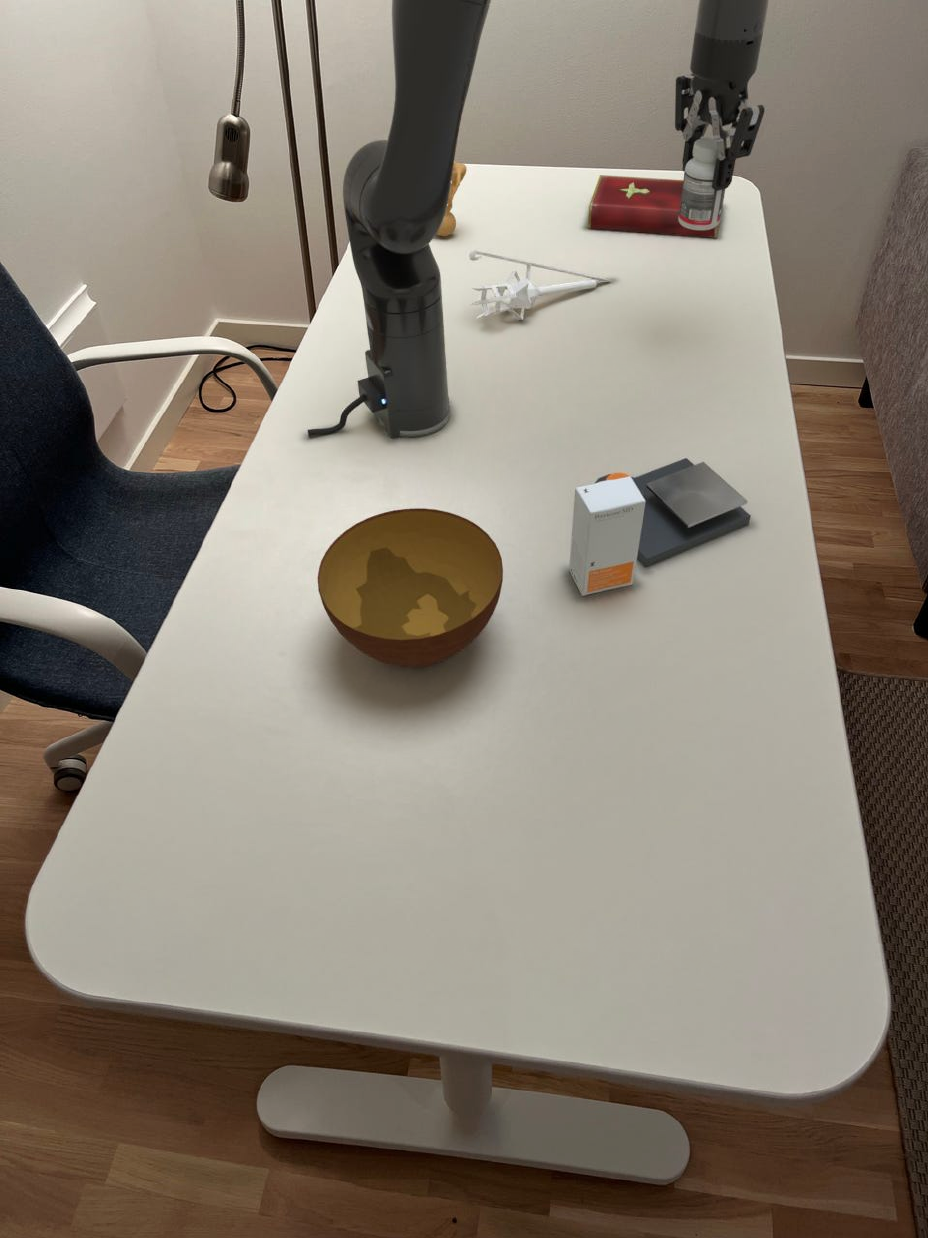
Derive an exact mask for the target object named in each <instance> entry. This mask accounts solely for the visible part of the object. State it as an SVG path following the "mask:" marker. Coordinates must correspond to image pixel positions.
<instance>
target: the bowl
mask: <svg viewBox="0 0 928 1238" xmlns="http://www.w3.org/2000/svg"><path fill="white" fill-rule="evenodd" d="M319 563H320V564H319V568H318V572H317V588H318V594H319V596H320V600H321V604H322V607H323V608H324V611H325V612H326V615H327V616H328V618H329V620H330V622H331V623H332V624H333V626H334V627H335V629H336V630H337V631H338V633H339V634H340V635H341V636H342V637H343V638H344V639H345V640H346V641H347V642H348V643H349V644H350V645H352V646H353V647H355V648H356V649H357V650H358V651H360V652H361V653H363V654H364V655H366V656H368V657H370V658H371V659H373V660H376V661H378V662H381V663H383V664H387V665H390V666H395V667H402V668H417V667H426V666H430V665H431V666H432V665H435V664H438V663H441V662H443V661H446V660H449V659H450V658H452V657H454V656H455V655H457V654H459V653H460V652H462V651H463V650H464V649H466V648H467V647H468V646H470V644H472V642H474V641H475V640H476V639H477V638H478V636H479V635H480V634H481V633H482V631H484V629H485V628H486V626H487V625H488V623H489V621H490V620H491V619H492V617H493V615H494V613H495V610H496V607H497V605H498V603H499V600H500V596H501V593H502V592H501V591H502V586H503V582H504V581H503V579H504V577H503V576H504V566H503V558H502V556H501V553H500V550H499V548H498V547H497V544H496V543H495V541H494V540H493V538H492V537H491V536H490V534H488V532H486V531H485V530H484V529H483V528H482V527H480V526H479V525H477V523H476V522H475V523H474V521H472V520H469V519H467V518H465V517H463V516H461V515H459V514H455V513H453V512H449V511H445V510H441V509H434V508H426V507H425V508H424V507H423V508H421V507H418V508H416V507H415V508H403V509H401V508H400V509H394V510H389V511H385V512H382V513H378V514H375V515H372V516H369V517H367V518H365V519H363V520H360V521H358V522H357V523H355V524H354V525H351V526H350V527H349V528H348V529H346V530H345V531H344V532H343V533H341V534H340V535H339V536H338V537H337V538H335V540H334V541H333V542H332V543H331V544H330V545H329V547H328V548H327V550H326V551H325V553H324V555H323V556H322V558H321V560H320V562H319Z"/></svg>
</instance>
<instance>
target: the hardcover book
mask: <svg viewBox="0 0 928 1238" xmlns="http://www.w3.org/2000/svg"><path fill="white" fill-rule="evenodd" d="M683 180H684V179H672V178H669V179H668V178H654V177H640V176H639V177H637V176H623V175H608V174H607V175H604V174H600V175H599V176H598V180H597V182H596V186H595V188H594V191H593V193H592V196H591V199H590V202H589V204H588V216H587V217H588V218H587V229H590V230H604V231H616V232H630V233H644V234H645V233H646V234H658V235H670V236H687V237H699V238H713V239H718V235H719V234H718V233H719V230H720V229H719V228H720V223H721V221H720V222H719V224H718V225H717V226H716V227H714V228H712V229H709V230H693V229H688V228H686V227H684V226H682V225H681V224H680V223H679V220H678V218H679V209H680V202H681V195H682V187H683Z"/></svg>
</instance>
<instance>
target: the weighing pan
mask: <svg viewBox="0 0 928 1238" xmlns="http://www.w3.org/2000/svg"><path fill="white" fill-rule="evenodd" d="M646 487H647V488H648V489H649V490H650V491H651V492H652V493H653V494H654V495H655V496H656V497H657V498H658V499H659V500H660V501H661V502H662V503H663V504H664V505H665V506H666V507H667V508H668V509H669V510H670V511H671V512H672V513H673V514H675V515H676V516H677V517H678V518H679V519H680V520H681V521H682V522H683V523H684V524H685V525H686V526H687V527H688V528H689V527H691V526H694V525H696V524H698V523H701V522H703V521H706V520H708V519H711V518H713V517H716V516H718V515H720V514H723V513H725V512H728V511H730V510H733V509H735V508H737V507H740V506H741V507H742V506H744V505H747V504H748V503H749V502H748V500H747V499H746V498H745V497H744V496H743V495H742V494H741V493H740V492H738V491H737V490H736V489H735V488H734V487H732V486H731V485H730V484H729V482H727V481H726V480H725V479H724V478H723V477H722V476H720V475H719V474H718V473H717V472H716V471H715V470H714V469H712V467H710V466H709V465H708V464H707V463H706V462H704V461H702V462H698V463H696V464H694V466H691V467H689V468H686V469H683V470H681V471H678V472H676V473H673V474H671V475H668V476H665V477H663V478H660V479H658V480H655V481H653V482H650V483H647V484H646Z"/></svg>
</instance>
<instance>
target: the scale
mask: <svg viewBox="0 0 928 1238" xmlns="http://www.w3.org/2000/svg"><path fill="white" fill-rule="evenodd" d="M694 465H695V464H694V463H693V462H692V461H690V459H688V458H687V457H685V458H682V459H679V460H677V461H675V462H672V463H669V464H667V465H664V466H660V467H659V468H656V469H654V470H651V471H649V472H646V473H643V474H641V475H638V476H635V477H634V476H631V475H629V476H630V477H631V478H632V479H633V481H634V483H635V484H636V486H637V488H638V489H639V491H640V493H641V494H642V496H643V498H644V499H645V501H646V502H645V509H644V515H643V522H642V529H641V535H640V541H639V548H638V555H637V561H639V562H640V563H641V564H642V566H643V567H644V568H649V567H651V566H653V565H656V564H659V563H661V562H662V561H665V560H667V559H669V558H672V557H674V556H677V555H679V554H682V553H684V552H686V551H689V550H691V549H694V548H696V547H698V546H701V545H703V544H705V543H707V542H710V541H712V540H715V539H718V538H720V537H722V536H725V535H728V534H729V533H731V532H734V531H737V530H739V529H741V528H743V527H746V526H748V525H749V524H750V520H751V516H752V515H751V514H750V513H749V512H748V511H746V510H745V509H744V508H743V507H742V506H740V507H737V508H735V509H733V510H730V511H728V512H725V513H723V514H720V515H718V516H716V517H713V518H711V519H708V520H706V521H703V522H701V523H698V524H696V525H694V526H691V527H689V528H688V527H687V526H686V525H685V524H684V523H683V522H682V521H681V520H680V519H679V518H678V517H677V516H676V515H675V514H673V513H672V512H671V511H670V510H669V509H668V508H667V507H666V506H665V505H664V504H663V503H662V502H661V501H660V500H659V499H658V498H657V497H656V496H655V495H654V494H653V493H652V492H651V491H650V490H649V489H648V488H647V487H646V484H647V483H650V482H653V481H655V480H658V479H660V478H663V477H665V476H668V475H671V474H673V473H676V472H678V471H681V470H683V469H686V468H689V467H691V466H694ZM610 474H611V473H608V474H605V475H604V476H601V477H598V478H597V479H596V481H594V483H593V484H595V483H598V482H601V481H606V479H607V477H608V476H609V475H610Z"/></svg>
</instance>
